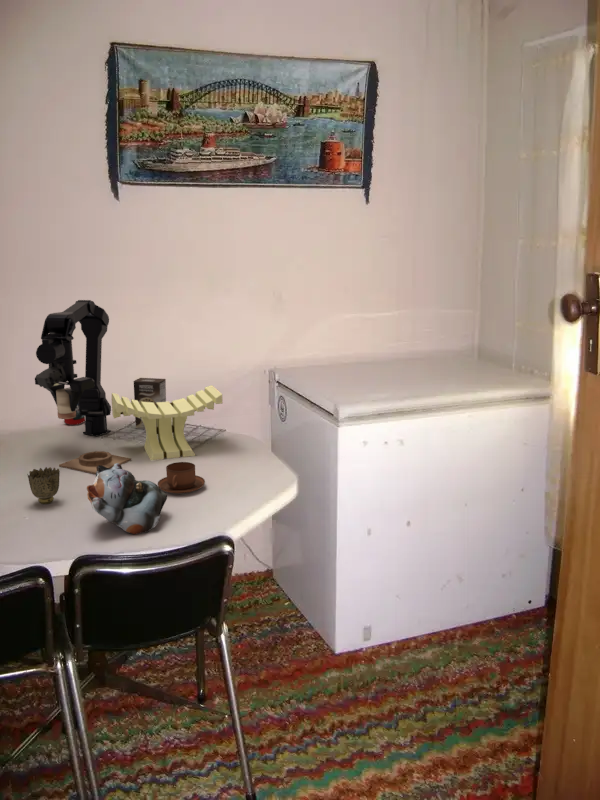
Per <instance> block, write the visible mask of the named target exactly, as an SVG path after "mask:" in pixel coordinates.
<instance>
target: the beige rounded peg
mask: <svg viewBox="0 0 600 800" xmlns="http://www.w3.org/2000/svg"><path fill="white" fill-rule="evenodd" d="M67 389H70V388H69V387H64V389H58V390H56V397H57V405H56V407H57V408H56V409H57V419H59V420H64V419H71V418H74V417H76V411H73V412H72V411H71V407H70V400H69V394H68V393H67V392H66V391H65V390H67Z"/></svg>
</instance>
